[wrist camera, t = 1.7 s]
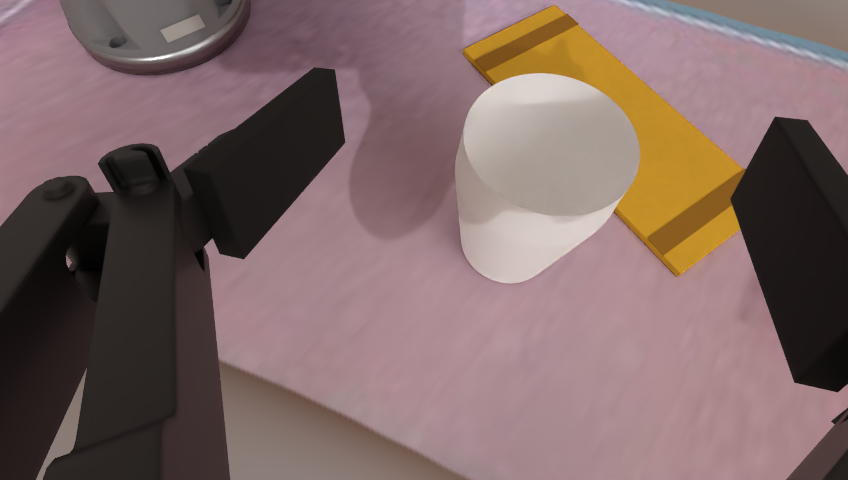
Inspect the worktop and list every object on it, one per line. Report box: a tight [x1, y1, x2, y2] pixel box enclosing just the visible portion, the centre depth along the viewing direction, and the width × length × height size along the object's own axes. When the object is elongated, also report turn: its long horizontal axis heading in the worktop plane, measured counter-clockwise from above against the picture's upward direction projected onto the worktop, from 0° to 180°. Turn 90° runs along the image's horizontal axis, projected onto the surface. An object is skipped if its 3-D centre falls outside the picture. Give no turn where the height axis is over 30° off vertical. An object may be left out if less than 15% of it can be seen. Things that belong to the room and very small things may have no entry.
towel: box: [463, 5, 746, 276], centre depth 37 cm, size 26×11×1 cm, turn 34°
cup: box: [455, 73, 640, 283], centre depth 27 cm, size 9×9×12 cm
